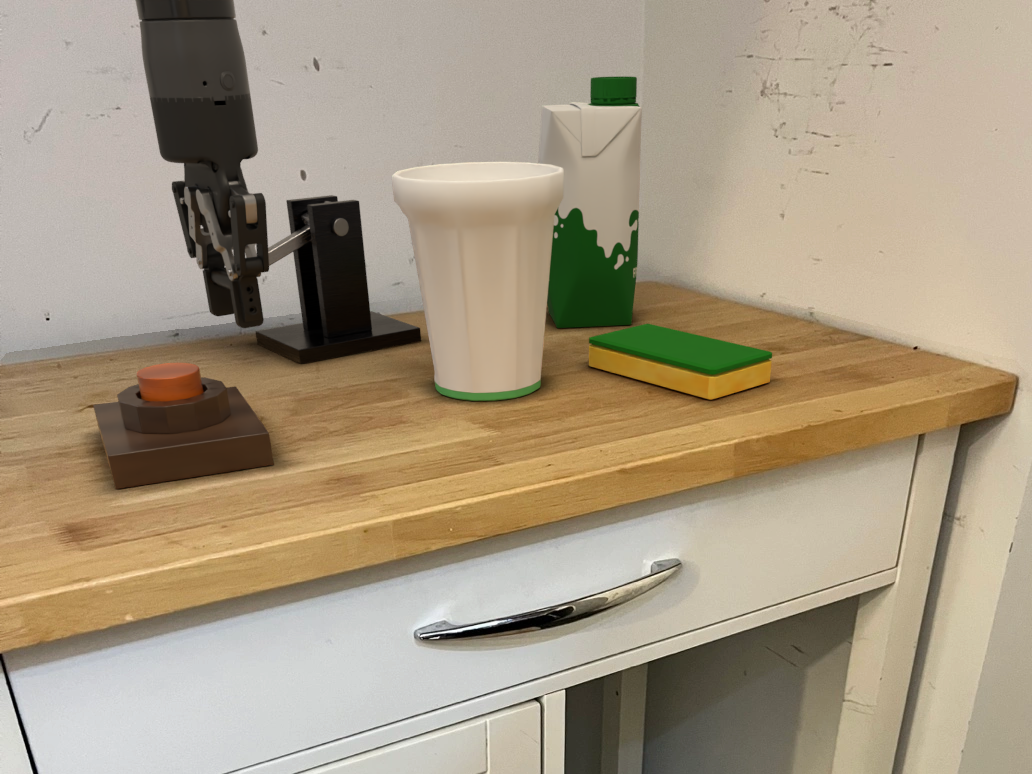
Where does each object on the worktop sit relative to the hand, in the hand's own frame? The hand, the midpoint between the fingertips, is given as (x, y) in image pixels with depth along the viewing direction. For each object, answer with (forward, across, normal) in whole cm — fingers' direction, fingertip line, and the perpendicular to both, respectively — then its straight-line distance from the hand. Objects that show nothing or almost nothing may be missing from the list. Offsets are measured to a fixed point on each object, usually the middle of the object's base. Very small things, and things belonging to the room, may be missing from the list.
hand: (236, 319), depth 93 cm
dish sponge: (+4, +28, +25) cm, 38 cm away
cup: (+4, +20, +12) cm, 24 cm away
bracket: (+3, 0, +9) cm, 10 cm away
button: (0, +20, -13) cm, 23 cm away
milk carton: (+4, +8, +32) cm, 33 cm away
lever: (-4, 0, +5) cm, 7 cm away
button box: (+3, +20, -13) cm, 24 cm away
